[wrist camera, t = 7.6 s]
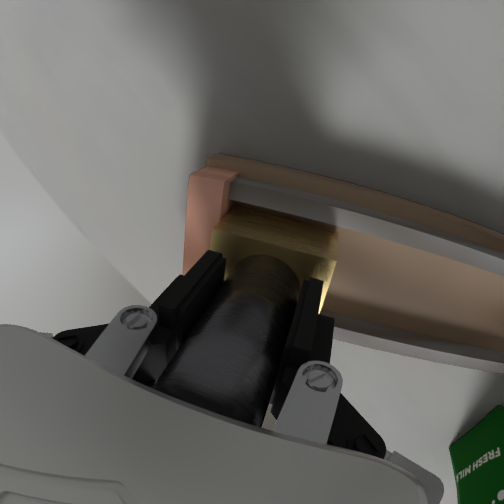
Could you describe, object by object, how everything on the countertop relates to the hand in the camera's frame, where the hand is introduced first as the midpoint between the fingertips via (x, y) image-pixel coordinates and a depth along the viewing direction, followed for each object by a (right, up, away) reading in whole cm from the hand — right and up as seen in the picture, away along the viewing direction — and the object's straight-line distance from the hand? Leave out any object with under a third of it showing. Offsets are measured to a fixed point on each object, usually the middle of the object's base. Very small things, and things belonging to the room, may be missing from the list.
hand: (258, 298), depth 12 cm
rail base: (+9, 0, +4) cm, 10 cm away
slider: (+1, +2, +3) cm, 4 cm away
